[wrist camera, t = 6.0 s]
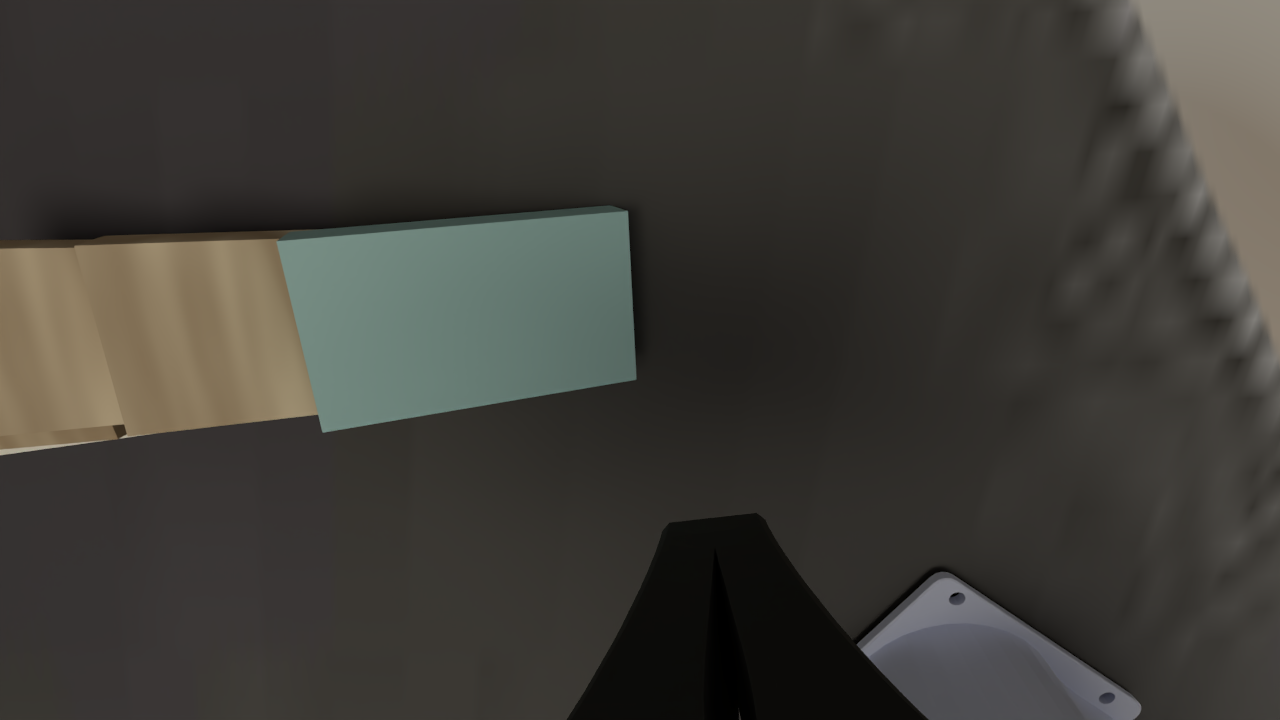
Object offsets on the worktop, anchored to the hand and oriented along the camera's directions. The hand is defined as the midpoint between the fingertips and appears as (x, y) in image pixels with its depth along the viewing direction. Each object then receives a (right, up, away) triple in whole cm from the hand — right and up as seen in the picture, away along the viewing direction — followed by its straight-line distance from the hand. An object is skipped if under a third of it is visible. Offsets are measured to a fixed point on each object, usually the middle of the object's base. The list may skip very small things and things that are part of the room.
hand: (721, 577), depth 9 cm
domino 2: (-6, +4, +9) cm, 12 cm away
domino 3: (-2, +5, +8) cm, 10 cm away
